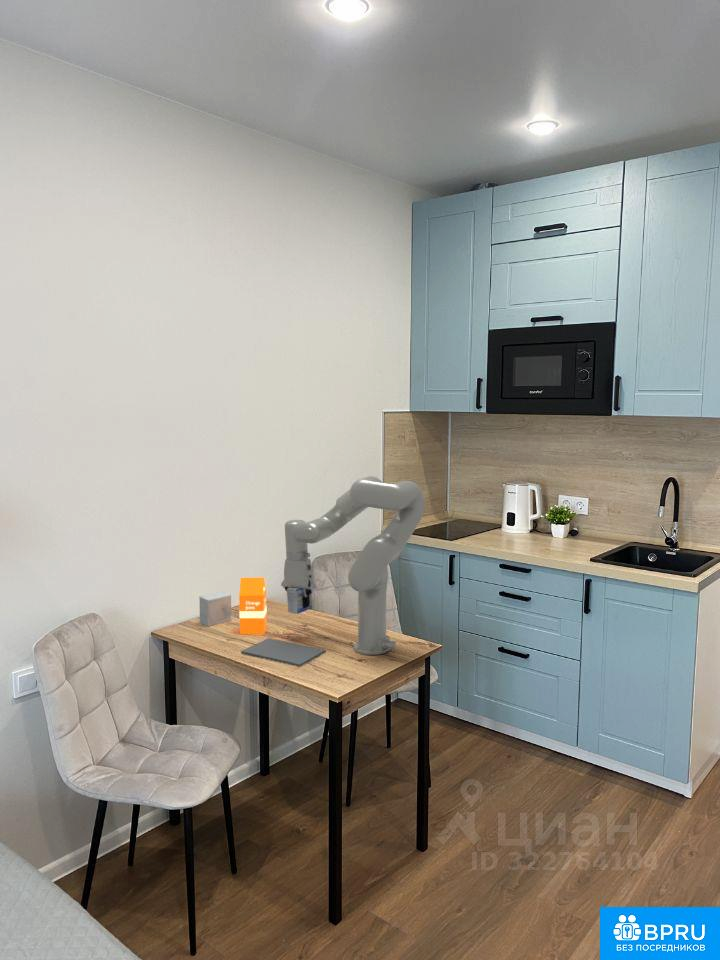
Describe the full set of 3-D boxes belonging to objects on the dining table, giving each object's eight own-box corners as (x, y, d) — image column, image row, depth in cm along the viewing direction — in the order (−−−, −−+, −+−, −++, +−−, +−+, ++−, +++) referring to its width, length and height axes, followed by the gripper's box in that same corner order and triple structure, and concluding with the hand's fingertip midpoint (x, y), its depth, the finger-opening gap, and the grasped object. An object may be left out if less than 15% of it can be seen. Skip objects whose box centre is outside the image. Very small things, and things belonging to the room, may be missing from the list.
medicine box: (297, 614, 249) (295, 589, 248) (287, 612, 252) (286, 588, 251) (312, 608, 256) (310, 584, 255) (302, 606, 258) (301, 583, 257)
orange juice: (243, 627, 268) (242, 574, 266) (267, 627, 268) (266, 574, 266) (239, 634, 260) (238, 580, 258) (264, 634, 260) (263, 580, 258)
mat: (325, 652, 242) (325, 649, 242) (300, 666, 229) (300, 664, 229) (268, 640, 254) (268, 637, 254) (241, 653, 241) (241, 651, 241)
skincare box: (208, 627, 268) (207, 599, 267) (199, 623, 273) (198, 596, 272) (232, 621, 276) (231, 594, 274) (222, 617, 280) (222, 591, 279)
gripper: (323, 554, 251) (325, 606, 253) (283, 551, 259) (286, 601, 261) (311, 559, 244) (313, 611, 246) (271, 556, 253) (274, 606, 255)
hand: (299, 605), depth 254 cm, fingers closed on medicine box, 4 cm apart
